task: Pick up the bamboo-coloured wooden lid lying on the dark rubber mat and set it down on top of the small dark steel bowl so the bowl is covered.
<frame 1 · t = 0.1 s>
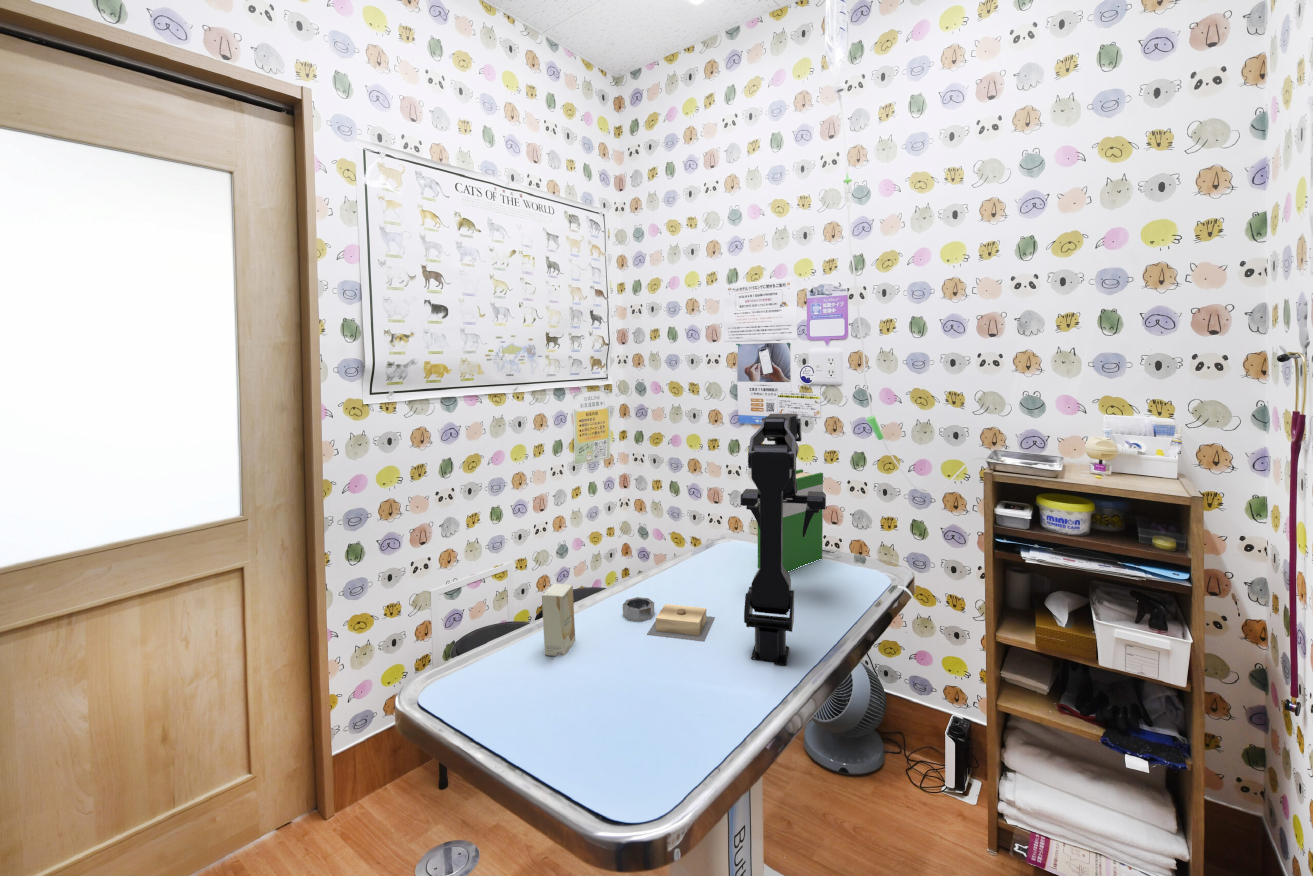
hand: (783, 535, 136), 15 cm above the table, tool pointing down, fingers open, 9 cm apart
lid: (681, 625, 123), resting on mat
bowl: (638, 616, 129), on the table
hardback book: (790, 564, 158), on the table
mat: (681, 628, 123), on the table
skincare box: (560, 649, 116), on the table
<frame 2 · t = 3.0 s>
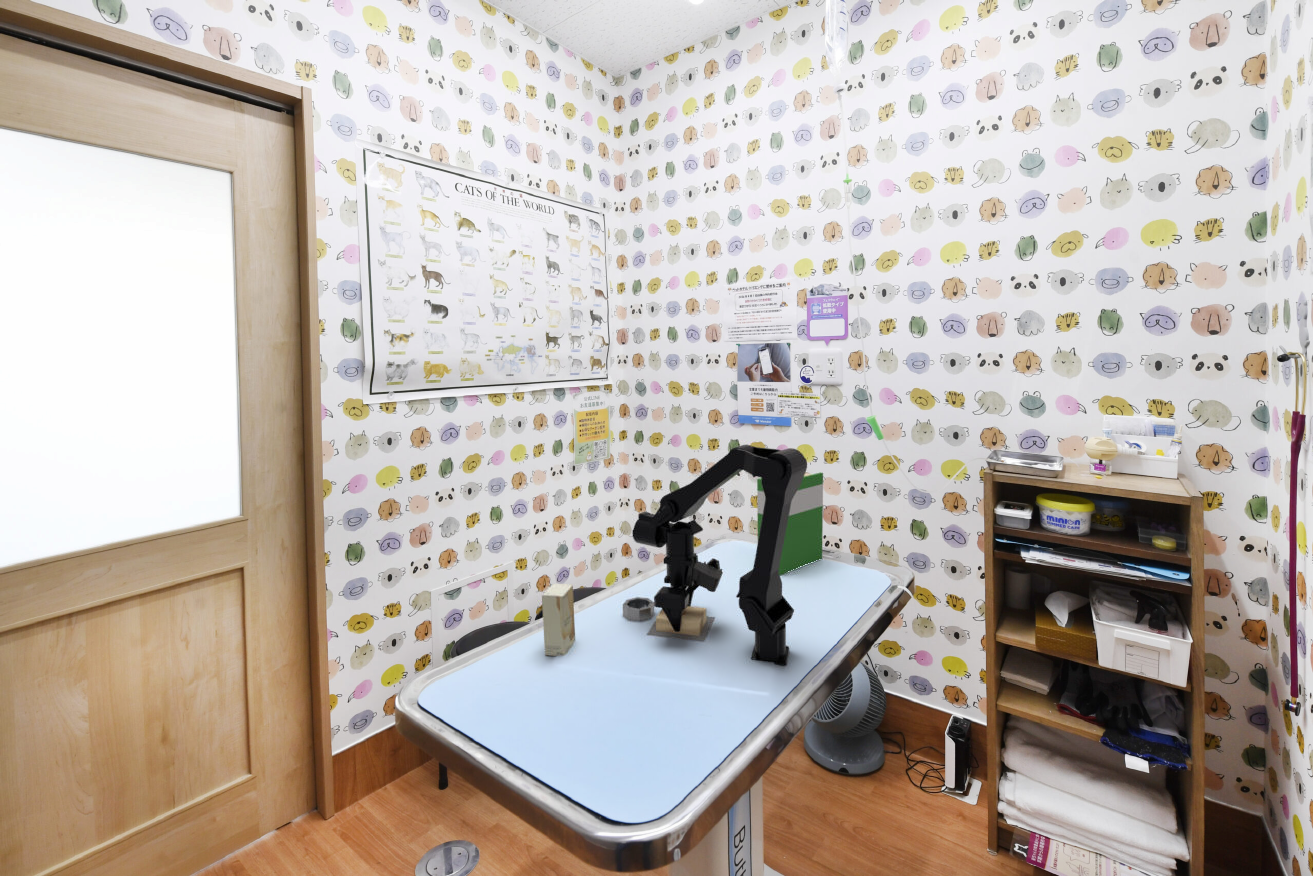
hand: (681, 623, 123), 1 cm above the table, tool pointing down, fingers closed on lid, 7 cm apart
lid: (681, 625, 123), resting on mat, touching gripper
everything else where it was.
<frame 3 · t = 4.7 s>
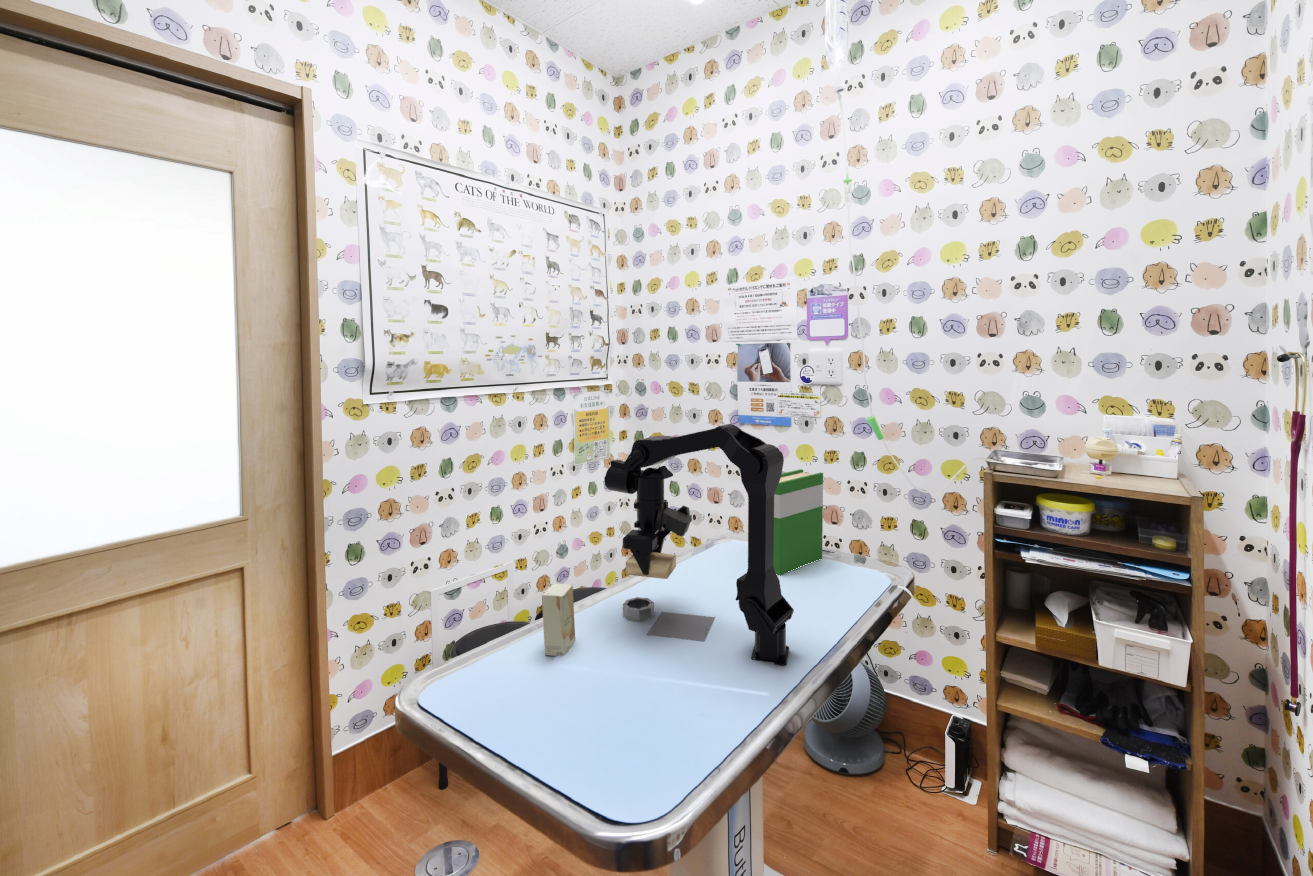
hand: (651, 568, 125), 12 cm above the table, tool pointing down, fingers closed on lid, 7 cm apart
lid: (651, 570, 126), point 11 cm above the table, touching gripper
everything else where it was.
when the fingers open (4 cm above the table, at t = 6.7 s): lid stays where it is, resting on bowl.
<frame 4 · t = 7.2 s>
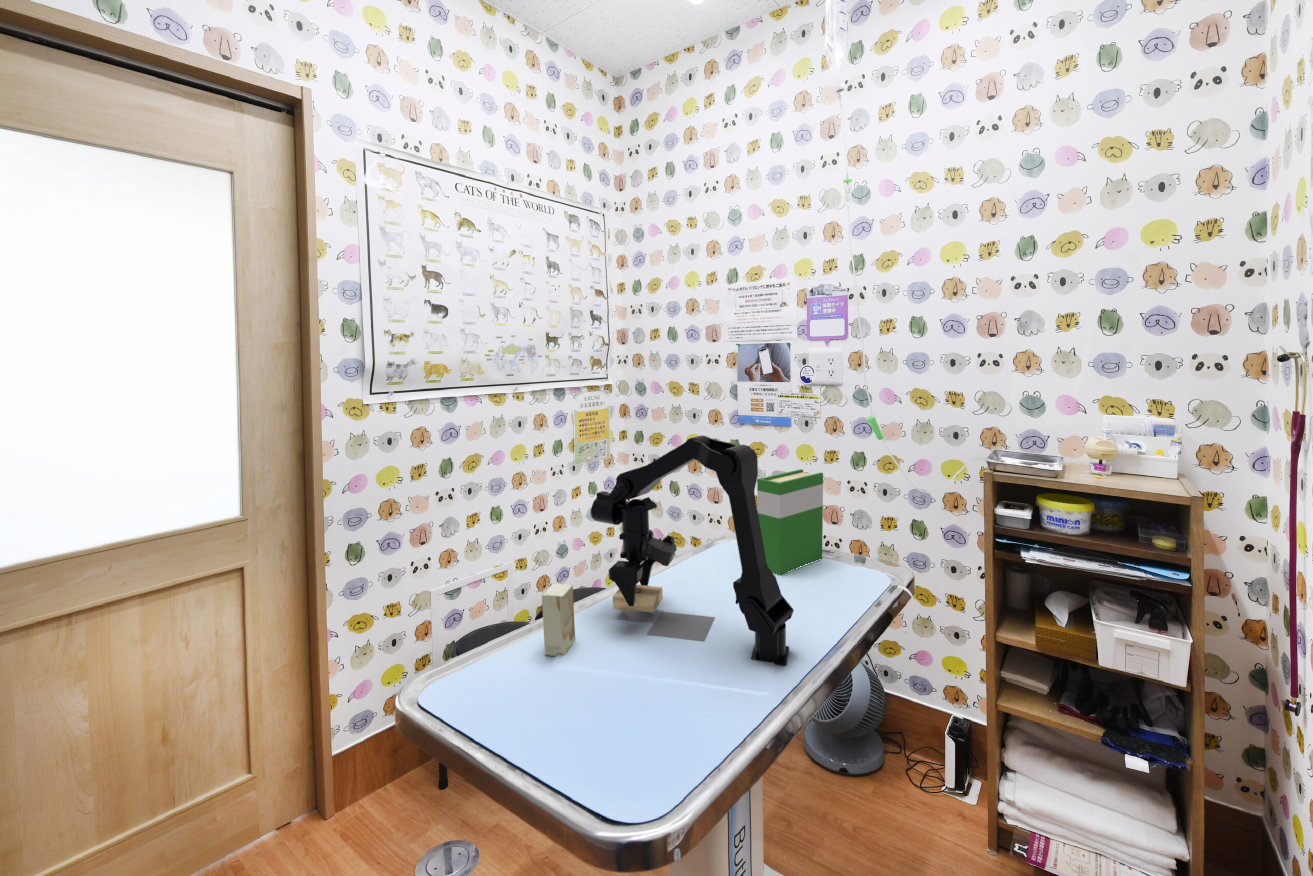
hand: (638, 597, 128), 4 cm above the table, tool pointing down, fingers open, 9 cm apart
lid: (638, 603, 129), point 3 cm above the table, touching bowl
everything else where it was.
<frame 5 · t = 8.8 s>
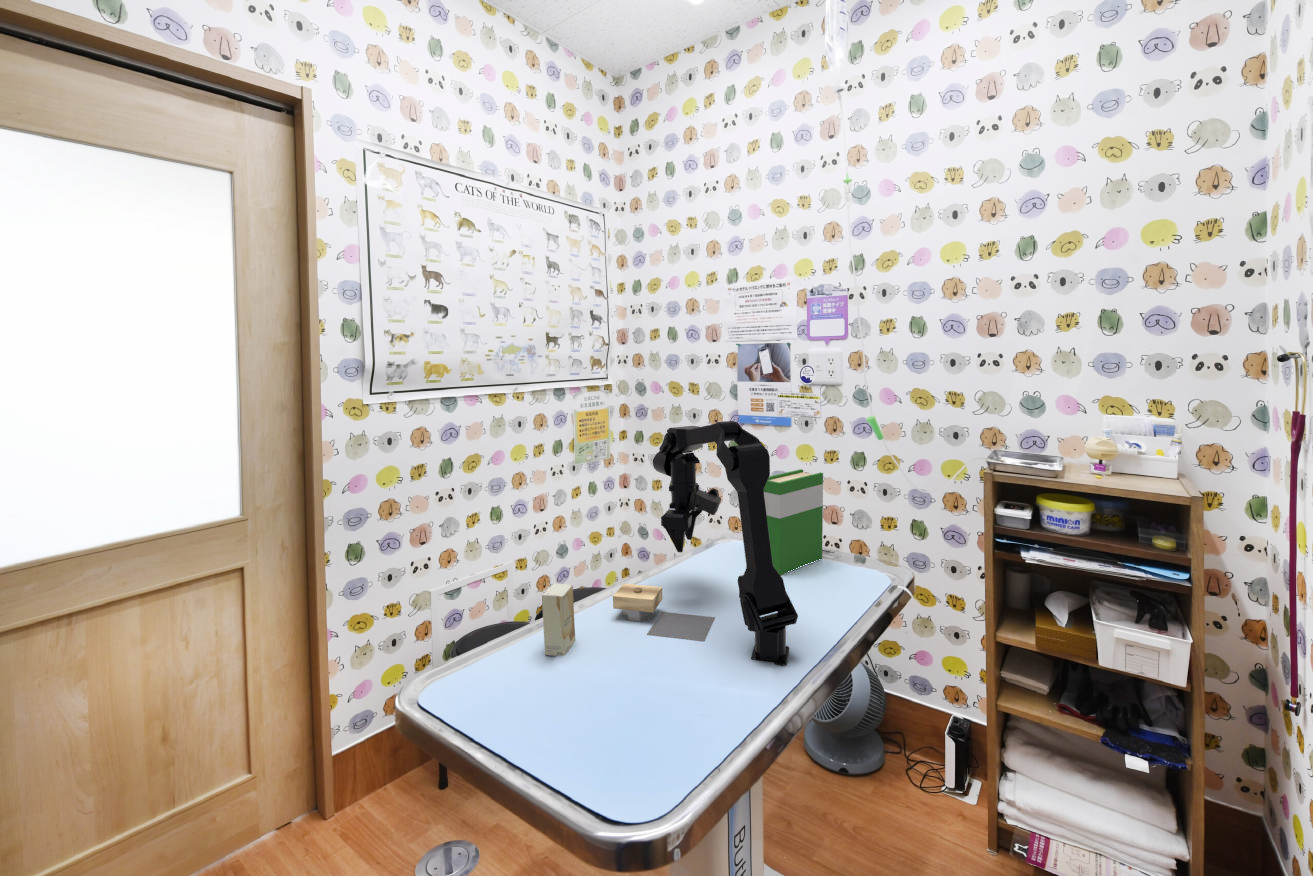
hand: (684, 545, 138), 12 cm above the table, tool pointing down, fingers open, 9 cm apart
nothing on the table moved.
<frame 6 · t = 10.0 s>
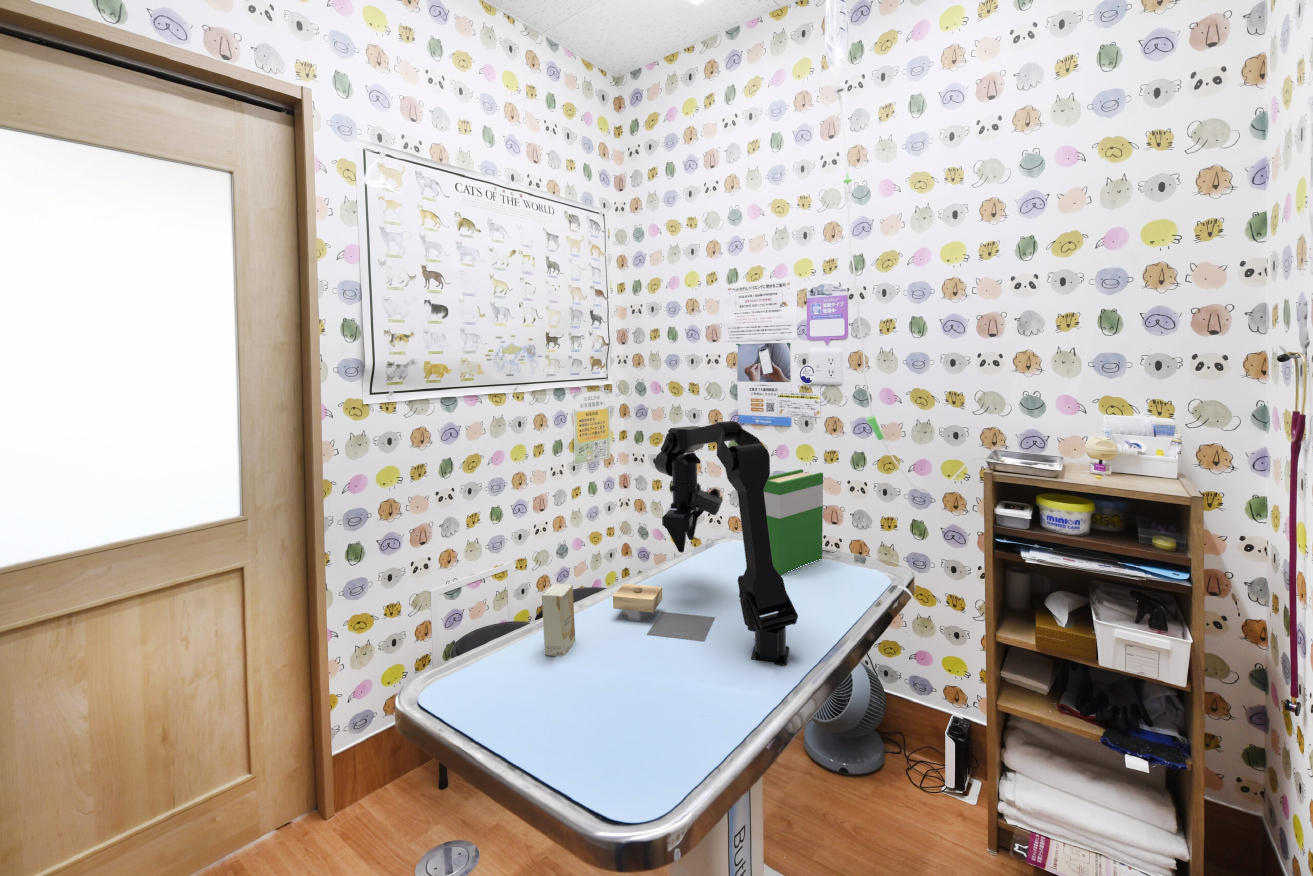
hand: (686, 545, 138), 12 cm above the table, tool pointing down, fingers open, 9 cm apart
nothing on the table moved.
at the end: lid 0.0 cm off-centre on the bowl, point 3.0 cm above the bowl's base; the gripper is holding nothing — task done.
